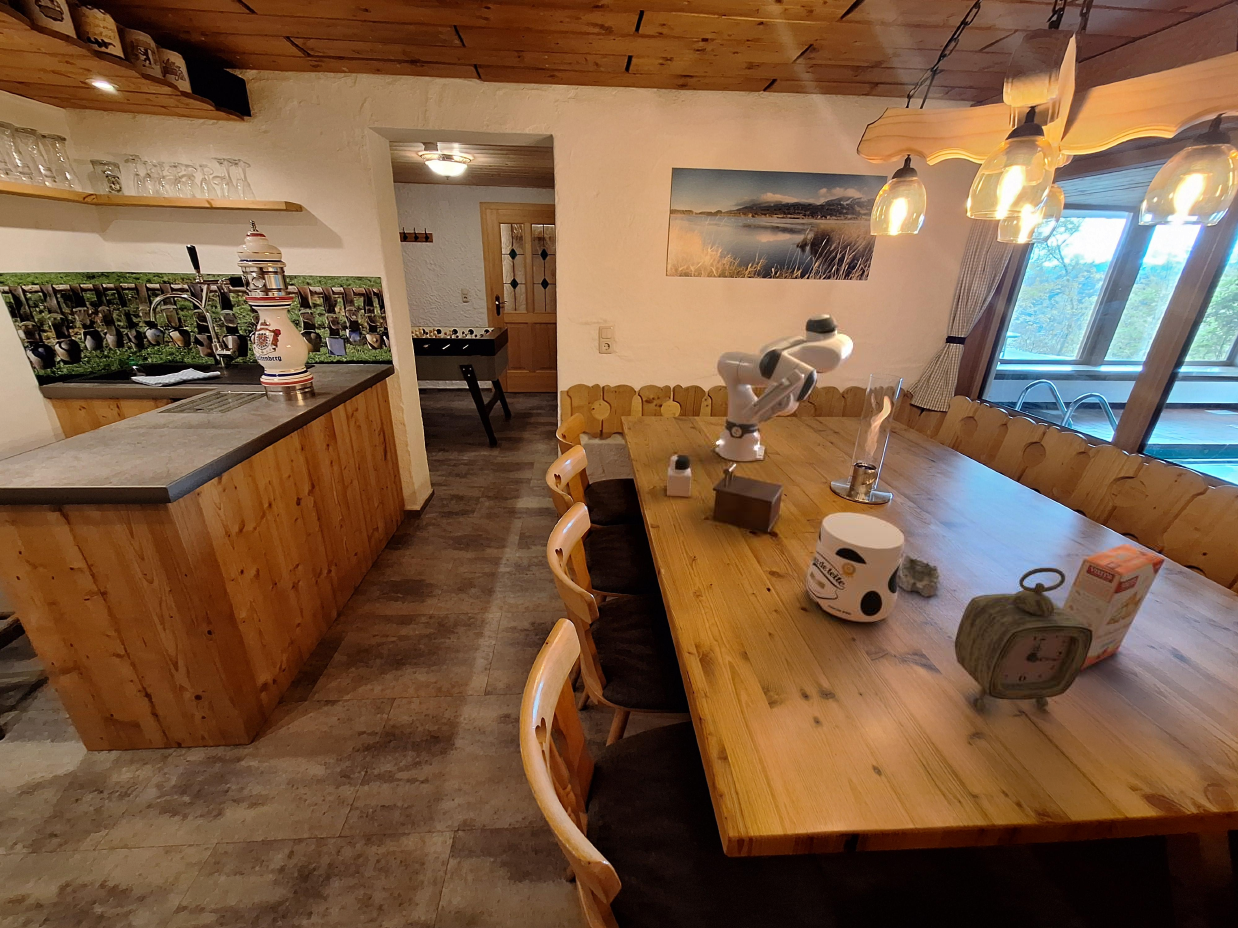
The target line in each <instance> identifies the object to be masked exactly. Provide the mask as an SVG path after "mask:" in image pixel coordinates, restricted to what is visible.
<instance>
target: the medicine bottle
mask: <svg viewBox="0 0 1238 928" xmlns="http://www.w3.org/2000/svg"><path fill="white" fill-rule="evenodd" d="M669 464H670V465H669V467H668V468H667V481H666V495H667V496H670V497H684V498H685V497H686V498H687V497H691V487H692V485H691V484H692V469H691V467H690V465H691V458H690V457H688V456H687V455H684V454H675V455H672V456H671V457H670V463H669Z"/></svg>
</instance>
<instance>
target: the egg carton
mask: <svg viewBox="0 0 1238 928" xmlns="http://www.w3.org/2000/svg"><path fill="white" fill-rule="evenodd" d="M899 575H900V581H899V587H901V588H903V589H904V590H905V591H907V592H911V591H914V592H919V593H920V594H921V596H923V597H929V596H934V595H935V592H936V591H937V584H938V582H939V578H940V573H939V571H938V567H937V565H931V564H930V562H928V561H927V562H924V561H923V560H921V559H918V558H914V557H911V556H909V555H905V556H904V557H903V561H902V562H901V565H900V568H899Z"/></svg>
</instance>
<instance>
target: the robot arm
mask: <svg viewBox="0 0 1238 928" xmlns="http://www.w3.org/2000/svg"><path fill="white" fill-rule="evenodd" d="M805 323H806V324H805V328H804V329H805V338H804V337H803V336H801V335H797V334H796V335H795V334H794V335H788V336H784V337H780V338H779V339H775V340H773V341H771V342H769V343H767V344H765V345H763V346H761V348H760V349H759V352H758V353H748V352H742V351H727V352H724V353H722V354H721V356H720V357H719V358H718V360H717V363H716V370H717V373H718V375H719V376H720V378H721V379H722V380H723V382H724V385H725V388H726V391H727V398H728V399H727V401H728V405H727V416H726V419H725V421H724V422H725V423H724V428H725V429H724V430H722V431H721V432H720V435H719V436H720V437H719V440H718V441H716V445H718V447H716V448H714V452H715V453H717V454H718V455H719V456H720V457H722V458H724V459H726V460H730V461H735V462H752V461H762V460H763V459H764V455H765V450H766V447H765V446H764V445H763V444H761V443H760V442H761V433H760V428H759V425H763V424H764V423H766V422H768V421H769V420H771V419H773V418H775V417H776V416H783V417H784V416H785V417H786V416H790V415H792V414H793V413H794V412H795V411H796V410H797V409H798V407H799V404H800V403H802V402H804V401H805V400H807V399H808V398H809V397H810V395H811V394H812V393H813V391H814V389H815V388H816V385H817V382H818V374H827V373H831V372H833V371H835V370H837V369H838V368H840V367H841V366H842V365H843V364H844V363H846V361H847V360H848V359H849V357H850V356H851V355H852V353H853V349H854V344H853V340H852V339H851V338H850V337H849V336H848V335H846V334H841V333H838V327H839V326H838V324H837V322H836V319H835V317H834V316H833V315H831V314H824V313H822V314H817V315H813V316H812V317H810V318H809V319H808V320H807V321H806V322H805ZM752 387H755V388H765V389H764V390H763V393H762V394H760V396H759V397H757V396H756V395H755V393H754V391H753V389H752Z"/></svg>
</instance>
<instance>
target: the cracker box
mask: <svg viewBox="0 0 1238 928" xmlns="http://www.w3.org/2000/svg"><path fill="white" fill-rule="evenodd" d="M1165 561H1166V559H1165V558H1163V557H1161V556H1159V555H1157V554H1154V553H1152V552H1148V551H1146V550H1143V549H1140V548H1138V547H1136V546H1133V545H1131V544H1127V543H1123V544H1121V545H1119V546H1115V547H1112V548H1110V549H1107V550H1103V551H1101V552H1099V553H1096V554H1093V555H1091V556H1090V555H1089V556H1087V557H1084V558H1083V560H1082V562H1081V564H1080V566H1079V569H1078V571H1077V573H1076V576H1075V577H1074V580H1073V582H1072V585H1071V587H1070V589H1069V591H1068V594H1067V596H1066V597H1065V600H1064V602H1063V605H1062V606H1061V609H1063V610H1064V611H1066V612H1067V613H1069V614H1070V615H1071V616H1073V617H1074V618H1076V619H1077V620H1078V621H1080V622H1081V623H1083V624H1084V625H1085V626H1087V627H1088V628H1090V629H1091V630H1092V642H1091V646H1090V649H1089V652H1088V655H1087V657H1086V660H1085V663H1084V665H1083V666H1082V668H1081V670H1080V671H1082V670H1084V669H1086V668H1088V667H1090V666H1092V665H1094V664H1096V663H1097V662H1099V661H1102V660H1104V659H1106V658H1107V657H1109V656H1111V655H1114V654H1116V653H1117V652H1118V651H1119V649H1120V647H1121V645H1122V643H1123V641H1124V639H1125V637H1126V636H1127V634H1128V631H1130V630H1129V629H1130V628H1131V626H1132V624H1133V622H1134V620H1135V618H1136V616H1137V615H1138V612H1139V611H1140V608H1141V607H1142V604H1143V602H1144V601H1145V599H1146V597H1147V595H1148V593H1149V591H1150V589H1151V587H1152V585H1153V583H1154V582H1155V580H1156V578H1157V576H1158V574H1159V572H1160V569H1161V568H1162V566H1163V564H1165V563H1164V562H1165Z"/></svg>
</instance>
